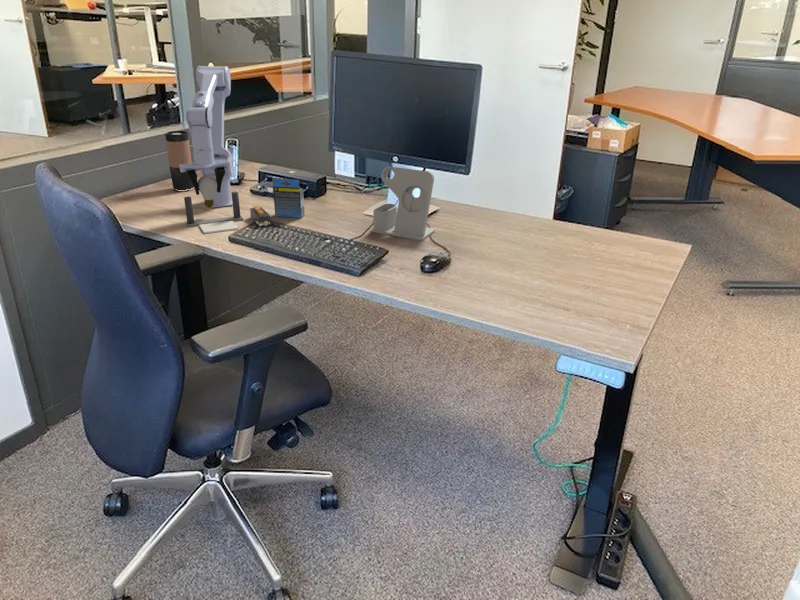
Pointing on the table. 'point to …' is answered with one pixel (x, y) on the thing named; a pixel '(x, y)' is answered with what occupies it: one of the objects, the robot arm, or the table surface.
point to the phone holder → (405, 205)
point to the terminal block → (259, 214)
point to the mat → (218, 227)
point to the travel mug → (178, 158)
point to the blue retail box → (288, 198)
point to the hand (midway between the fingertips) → (208, 192)
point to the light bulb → (207, 189)
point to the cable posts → (191, 221)
